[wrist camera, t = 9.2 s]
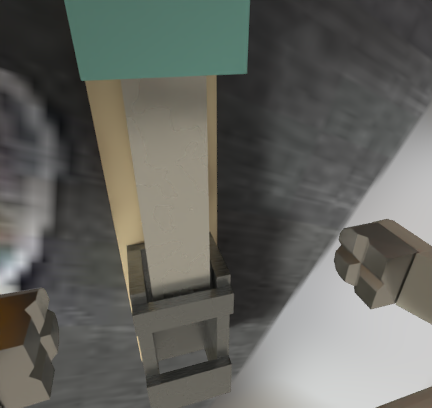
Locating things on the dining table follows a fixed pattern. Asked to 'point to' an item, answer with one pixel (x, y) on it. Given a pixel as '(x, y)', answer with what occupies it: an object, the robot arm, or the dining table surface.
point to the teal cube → (159, 38)
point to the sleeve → (183, 332)
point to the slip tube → (171, 179)
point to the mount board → (123, 165)
